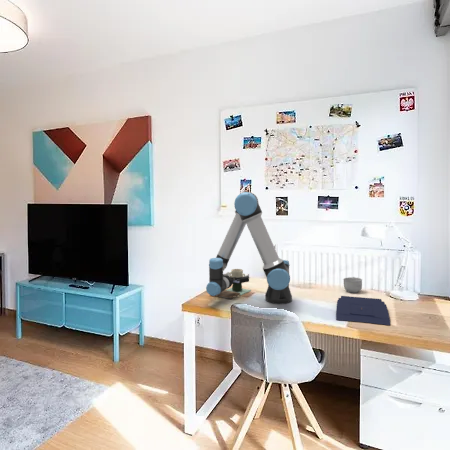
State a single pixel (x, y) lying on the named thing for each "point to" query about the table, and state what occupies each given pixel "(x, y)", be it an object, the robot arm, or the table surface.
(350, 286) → the teacup
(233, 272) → the character mug
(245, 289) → the mat
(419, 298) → the table surface
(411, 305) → the table surface
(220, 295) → the walnut slab
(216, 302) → the table surface
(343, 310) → the folded navy cloth
